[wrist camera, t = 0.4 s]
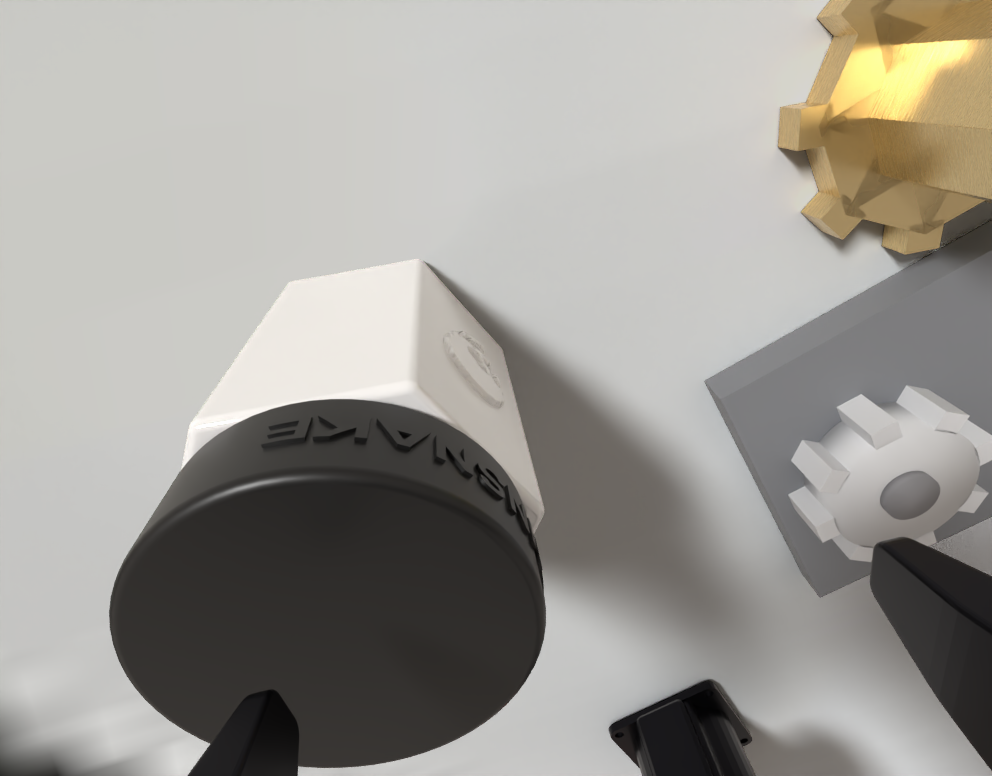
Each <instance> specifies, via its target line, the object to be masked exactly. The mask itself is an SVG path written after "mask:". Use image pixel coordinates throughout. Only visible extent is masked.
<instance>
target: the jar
mask: <svg viewBox="0 0 992 776" xmlns="http://www.w3.org/2000/svg"><path fill="white" fill-rule="evenodd" d="M543 516H544V505H543V501H542V497H541V494H540V490H539V486H538V482H537V478H536V475H535V471H534V467H533V463H532V459H531V456H530V452H529V448H528V444H527V440H526V437H525V433H524V429H523V425H522V421H521V418H520V414H519V410H518V406H517V402H516V398H515V395H514V391H513V387H512V383H511V379H510V376H509V372H508V368H507V364H506V360H505V357H504V353H503V350H502V348H501V347H500V346H499V345H498V344H497V343H496V341H495V340H494V339H493V338H492V337H491V336H490V335H489V334H488V333H487V332H486V330H485V329H484V328H483V327H482V326H481V325H480V324H479V323H478V322H477V320H476V319H475V318H474V317H473V316H472V315H471V314H470V313H469V312H468V310H467V309H466V308H465V307H464V306H463V305H462V304H461V303H460V302H459V300H458V299H457V298H456V297H455V296H454V295H453V294H452V293H451V292H450V290H449V289H448V288H447V287H446V286H445V285H444V284H443V283H442V281H441V280H440V279H439V278H438V277H437V276H436V275H435V274H434V272H433V271H432V270H431V269H430V268H429V267H428V266H427V265H426V263H425V262H423V261H422V260H420V259H413V260H408V261H402V262H397V263H391V264H385V265H380V266H374V267H369V268H363V269H358V270H352V271H346V272H341V273H335V274H330V275H324V276H319V277H313V278H307V279H302V280H296V281H291V282H289V283H288V284H287V285H286V286H285V288H284V289H283V291H282V292H281V293H280V295H279V296H278V298H277V299H276V301H275V302H274V304H273V305H272V306H271V308H270V309H269V311H268V312H267V314H266V315H265V317H264V318H263V319H262V321H261V322H260V324H259V325H258V327H257V328H256V329H255V331H254V332H253V334H252V335H251V337H250V338H249V340H248V341H247V342H246V344H245V345H244V347H243V348H242V350H241V351H240V353H239V354H238V355H237V357H236V358H235V360H234V361H233V363H232V364H231V366H230V367H229V368H228V370H227V371H226V373H225V374H224V376H223V377H222V378H221V380H220V381H219V383H218V384H217V386H216V387H215V389H214V390H213V391H212V393H211V394H210V396H209V397H208V399H207V400H206V402H205V403H204V404H203V406H202V407H201V409H200V410H199V412H198V413H197V415H196V416H195V417H194V419H193V420H192V422H191V423H190V425H189V429H188V434H187V440H186V445H185V451H184V456H183V462H182V467H181V471H180V472H179V474H178V476H177V477H176V479H175V480H174V482H173V483H172V485H171V487H170V488H169V490H168V491H167V493H166V495H165V496H164V498H163V499H162V501H161V502H160V504H159V506H158V507H157V509H156V510H155V512H154V513H153V515H152V517H151V518H150V520H149V521H148V523H147V524H146V526H145V528H144V529H143V531H142V532H141V534H140V535H139V537H138V539H137V540H136V542H135V543H134V545H133V546H132V548H131V550H130V551H129V553H128V555H127V556H126V558H125V559H124V561H123V563H122V565H121V568H120V570H119V572H118V575H117V577H116V580H115V583H114V587H113V591H112V595H111V601H110V610H109V618H110V630H111V635H112V641H113V645H114V648H115V651H116V654H117V656H118V659H119V662H120V664H121V666H122V668H123V670H124V671H125V673H126V675H127V677H128V678H129V680H130V681H131V683H132V684H133V685H134V687H135V688H136V689H137V691H138V692H139V693H140V694H141V695H142V696H143V698H144V699H145V700H146V701H147V702H148V703H149V704H150V705H151V706H153V707H154V708H155V709H156V710H157V711H158V712H159V713H161V714H162V715H163V716H164V717H166V718H167V719H168V720H169V721H171V722H172V723H174V724H175V725H177V726H178V727H180V728H182V729H183V730H185V731H186V732H188V733H190V734H192V735H194V736H196V737H197V738H199V739H201V740H204V741H206V742H208V743H210V744H211V743H212V741H213V740H214V739H215V737H216V736H217V734H218V733H219V732H220V730H221V729H222V728H223V726H224V725H225V723H226V722H227V721H228V719H229V718H230V717H231V715H232V714H233V712H234V711H235V710H236V708H237V707H238V706H239V704H240V703H241V702H242V700H243V699H244V698H245V697H247V696H248V695H250V694H253V693H257V692H261V691H265V690H269V689H273V690H275V691H277V692H278V693H279V694H280V696H281V697H282V699H283V700H284V702H285V703H286V705H287V706H288V708H289V709H290V711H291V712H292V714H293V715H294V717H295V718H296V721H297V723H298V727H299V755H298V766H301V767H317V768H343V767H358V766H366V765H375V764H380V763H386V762H391V761H396V760H400V759H404V758H408V757H412V756H415V755H418V754H421V753H425V752H427V751H430V750H433V749H435V748H438V747H441V746H443V745H445V744H447V743H450V742H452V741H454V740H456V739H458V738H460V737H462V736H464V735H466V734H467V733H469V732H471V731H473V730H474V729H476V728H477V727H479V726H480V725H482V724H483V723H485V722H486V721H487V720H489V719H490V718H491V717H493V716H494V715H495V714H497V713H498V712H499V711H500V710H501V709H502V708H503V707H504V706H505V705H506V704H507V703H508V702H509V701H510V700H511V699H512V698H513V697H514V696H515V695H516V693H517V692H518V691H519V690H520V688H521V687H522V685H523V684H524V683H525V681H526V680H527V678H528V676H529V674H530V673H531V671H532V669H533V667H534V666H535V663H536V661H537V659H538V656H539V654H540V651H541V647H542V644H543V640H544V634H545V626H546V606H545V598H544V586H543V576H542V566H541V561H540V557H539V552H538V548H537V543H536V539H535V537H534V533H535V531H536V529H537V527H538V525H539V523H540V522H541V520H542V518H543Z"/></svg>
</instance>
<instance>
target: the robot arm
mask: <svg viewBox="0 0 992 776" xmlns="http://www.w3.org/2000/svg"><path fill="white" fill-rule="evenodd" d="M870 586H871V589H872V592H873V595H874V597H875V599H876V600H877V602H878V604H879V605H880V607H881V608H882V610H883V612H884V613H885V615H886V616H887V618H888V620H889V621H890V623H891V625H892V626H893V628H894V629H895V631H896V633H897V634H898V636H899V637H900V639H901V641H902V642H903V644H904V646H905V647H906V649H907V650H908V652H909V654H910V655H911V657H912V659H913V660H914V662H915V663H916V665H917V667H918V668H919V670H920V671H921V673H922V675H923V676H924V678H925V680H926V681H927V683H928V684H929V686H930V687H931V689H932V690H933V692H934V694H935V695H936V697H937V698H938V700H939V701H940V702H941V704H942V705H943V707H944V708H945V709H946V711H947V712H948V713H949V715H950V716H951V718H952V719H953V720H954V722H955V723H956V724H957V725H958V727H959V728H960V729H961V731H962V732H963V733H964V735H965V736H966V737H967V739H968V740H969V741H970V743H971V744H972V745H973V747H974V748H975V749H976V751H977V752H978V753H979V755H980V756H981V757H982V759H983V760H984V761H985V762H986V764H987V765H988V766H989V768H990V769H991V770H992V576H990V575H988V574H986V573H984V572H981V571H979V570H977V569H975V568H973V567H971V566H969V565H967V564H964V563H962V562H960V561H958V560H956V559H954V558H952V557H950V556H947V555H945V554H943V553H941V552H939V551H937V550H935V549H933V548H930V547H928V546H926V545H924V544H922V543H920V542H918V541H916V540H913V539H911V538H907V537H897V538H893V539H888V540H884V541H880V542H878V543H877V544H876V545H875V546H874V548H873V556H872V565H871V574H870ZM609 732H610V736H611V738H612V740H613V741H614V742H615V743H616V744H617V745H618V746H619V747H620V748H621V749H622V750H623V751H624V752H625V753H626V754H627V755H628V756H629V757H630V758H631V760H632V761H633V762H634V763H635V764H636V765H637V766H638V767H639V768H640V770H641V773H642V776H756V775H755V773H754V771H753V768H752V766H751V764H750V762H749V760H748V758H747V756H746V753H745V751H744V749H743V746H745V745H747V744H749V743H750V742H751V741H752V737H751V735H750V733H749V731H748V730H747V728H746V727H745V725H744V724H743V723H742V721H741V720H740V718H739V717H738V716H737V714H736V713H735V711H734V710H733V709H732V707H731V706H730V705H729V703H728V702H727V700H726V699H725V698H724V696H723V695H722V693H721V692H720V691H719V689H718V688H717V687H716V685H715V684H714V683H713V682H710V681H708V682H703V683H701V684H699V685H697V686H695V687H692V688H690V689H688V690H686V691H684V692H682V693H679V694H677V695H675V696H673V697H671V698H669V699H666V700H664V701H662V702H660V703H658V704H656V705H653V706H651V707H649V708H647V709H645V710H643V711H640V712H638V713H636V714H634V715H632V716H630V717H627V718H625V719H623V720H621V721H619V722H617V723H614V724H613V725H611V726H610V727H609ZM298 755H299V727H298V723H297V721H296V718H295V717H294V715H293V714H292V712H291V711H290V709H289V708H288V706H287V705H286V703H285V702H284V700H283V699H282V697H281V696H280V694H279V693H278V692H277V691H275V690H273V689H269V690H265V691H261V692H257V693H253V694H250V695H248V696H247V697H245V698H244V699H243V700H242V702H241V703H240V704H239V706H238V707H237V708H236V710H235V711H234V712H233V714H232V715H231V717H230V718H229V719H228V721H227V722H226V723H225V725H224V726H223V728H222V729H221V730H220V732H219V733H218V734H217V736H216V737H215V739H214V740H213V741H212V743H211V744H210V745H209V747H208V748H207V750H206V751H205V752H204V754H203V755H202V756H201V758H200V759H199V761H198V762H197V763H196V765H195V766H194V767H193V769H192V770H191V772H190V773H189V774H188V776H298Z"/></svg>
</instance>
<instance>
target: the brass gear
mask: <svg viewBox="0 0 992 776" xmlns="http://www.w3.org/2000/svg"><path fill="white" fill-rule="evenodd" d="M817 19H818V20H819V21H820V22H821V23H822V24H823V25H824V26H825V28H826V29H827V30H828V31H829V32H830V33H831V34H832V35H833V36H834V37H833V39H832V42H831V44H830V46H829V49H828V51H827V54H826V56H825V58H824V61H823V63H822V66H821V68H820V70H819V73H818V75H817V77H816V80H815V82H814V85H813V87H812V89H811V92H810V94H809V97H808V99H807V101H806V102H805V103H800V104H794V105H789V106H784V107H780V123H779V139H778V147H780V148H785V149H790V150H795V151H801V150H806V153H807V156H808V159H809V162H810V165H811V169H812V172H813V175H814V178H815V181H816V184H817V187H818V190H819V192H818V193H817V194H816V195H815V196H814V198H813V199H812V200H811V201H810V202H809V203H808V204H807V205H806V207H805V208H804V209H803V210H802V211H801V213H802V214H803V215H804V216H806V217H807V218H808V219H809V220H810V221H811V222H812V223H813V224H814V225H815V226H816V227H818V228H819V229H820V230H821V231H822V232H824V233H827V234H829V235H832V236H834V237H837V238H839V239H842V240H843V239H844V238H845V237H846V236H847V235H848V234H849V233H850V232H851V231H852V230H853V229H854V228H855V227H856V226H857V224H858V223H859V222H860V221H861V220H862V219H864V220H868V221H872V222H876V223H881V224H885V227H884V234H883V240H882V246H884V247H886V248H889V249H892V250H894V251H897V252H900V253H902V254H905V255H906V254H911V253H916V252H921V251H927V250H932V249H937V248H939V247H940V242H941V237H942V232H943V227H944V224H945V223H946V222H948V221H950V220H952V219H953V218H955V217H957V216H959V215H961V214H962V213H964V212H966V211H968V210H969V209H971V208H973V207H975V206H976V205H978V204H980V203H982V202H983V201H985V202H989V203H992V0H830V1H829V3H828V4H827V5H826V6H825V8H824V9H823V10H822V11H821V13H820V14H819V15H818V16H817Z"/></svg>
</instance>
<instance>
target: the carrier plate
mask: <svg viewBox="0 0 992 776" xmlns="http://www.w3.org/2000/svg"><path fill="white" fill-rule="evenodd" d="M704 382H705V384H706V386H707V387H708V389H709V391H710V393H711V395H712V397H713V399H714V401H715V403H716V405H717V407H718V409H719V411H720V413H721V415H722V417H723V419H724V421H725V423H726V425H727V427H728V429H729V431H730V433H731V435H732V437H733V439H734V441H735V443H736V445H737V447H738V449H739V451H740V452H741V454H742V456H743V458H744V460H745V462H746V464H747V466H748V468H749V470H750V472H751V474H752V476H753V478H754V480H755V482H756V484H757V486H758V488H759V490H760V492H761V494H762V496H763V498H764V500H765V502H766V504H767V506H768V508H769V510H770V512H771V514H772V516H773V518H774V519H775V521H776V523H777V525H778V527H779V529H780V531H781V533H782V535H783V537H784V539H785V541H786V543H787V545H788V547H789V549H790V551H791V553H792V555H793V557H794V559H795V561H796V563H797V565H798V567H799V569H800V571H801V573H802V574H803V576H804V577H805V578H806V580H807V581H808V583H809V584H810V585H811V587H812V588H813V589H814V591H815V592H816V593H817V595H818V596H819V597H823V596H825V595H827V594H829V593H831V592H833V591H835V590H837V589H839V588H842V587H844V586H846V585H848V584H850V583H852V582H854V581H856V580H859V579H861V578H863V577H865V576H867V575H869V574H871V565H872V556H873V548H874V546H875V545H876V544H877V543H878V542H880V541H884V540H888V539H893V538H897V537H907V538H911V539H913V540H916V541H918V542H920V543H922V544H924V545H926V546H928V547H929V546H931V545H933V544H935V543H937V542H939V541H941V540H943V539H946V538H948V537H950V536H952V535H954V534H956V533H958V532H960V531H963V530H965V529H967V528H969V527H971V526H973V525H975V524H977V523H979V522H982V521H984V520H986V519H988V518H990V517H992V220H991V221H989V222H987V223H986V224H984V225H982V226H980V227H978V228H977V229H975V230H973V231H971V232H970V233H968V234H966V235H964V236H962V237H961V238H959V239H957V240H955V241H954V242H952V243H950V244H948V245H946V246H945V247H943V248H941V249H939V250H937V251H936V252H934V253H932V254H930V255H929V256H927V257H925V258H923V259H921V260H920V261H918V262H916V263H914V264H913V265H911V266H909V267H907V268H905V269H904V270H902V271H900V272H898V273H896V274H895V275H893V276H891V277H889V278H888V279H886V280H884V281H882V282H880V283H879V284H877V285H875V286H873V287H872V288H870V289H868V290H866V291H864V292H863V293H861V294H859V295H857V296H855V297H854V298H852V299H850V300H848V301H847V302H845V303H843V304H841V305H839V306H838V307H836V308H834V309H832V310H830V311H829V312H827V313H825V314H823V315H822V316H820V317H818V318H816V319H814V320H813V321H811V322H809V323H807V324H806V325H804V326H802V327H800V328H798V329H797V330H795V331H793V332H791V333H789V334H788V335H786V336H784V337H782V338H781V339H779V340H777V341H775V342H773V343H772V344H770V345H768V346H766V347H765V348H763V349H761V350H759V351H757V352H756V353H754V354H752V355H750V356H748V357H747V358H745V359H743V360H741V361H740V362H738V363H736V364H734V365H732V366H731V367H729V368H727V369H725V370H723V371H722V372H720V373H718V374H716V375H715V376H713V377H711V378H709V379H707V380H706V381H704Z"/></svg>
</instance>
